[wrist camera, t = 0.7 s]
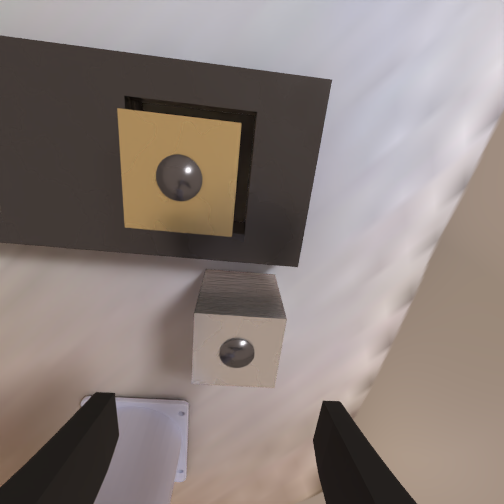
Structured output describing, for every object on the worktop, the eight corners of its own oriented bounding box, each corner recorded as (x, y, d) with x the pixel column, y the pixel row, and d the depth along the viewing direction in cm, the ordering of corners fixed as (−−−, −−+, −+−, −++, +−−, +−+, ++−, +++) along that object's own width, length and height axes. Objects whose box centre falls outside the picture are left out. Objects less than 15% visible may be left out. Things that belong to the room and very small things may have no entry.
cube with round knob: (266, 330, 20) (274, 389, 15) (203, 326, 20) (191, 385, 15) (275, 274, 18) (286, 320, 14) (205, 268, 18) (193, 314, 13)
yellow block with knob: (234, 210, 17) (231, 237, 12) (157, 202, 16) (123, 228, 12) (241, 128, 15) (241, 122, 10) (155, 118, 15) (116, 107, 10)
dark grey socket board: (290, 251, 18) (297, 267, 16) (-124, 215, 16) (-184, 227, 14) (317, 88, 14) (332, 79, 12) (-201, 21, 13) (-294, -4, 11)
